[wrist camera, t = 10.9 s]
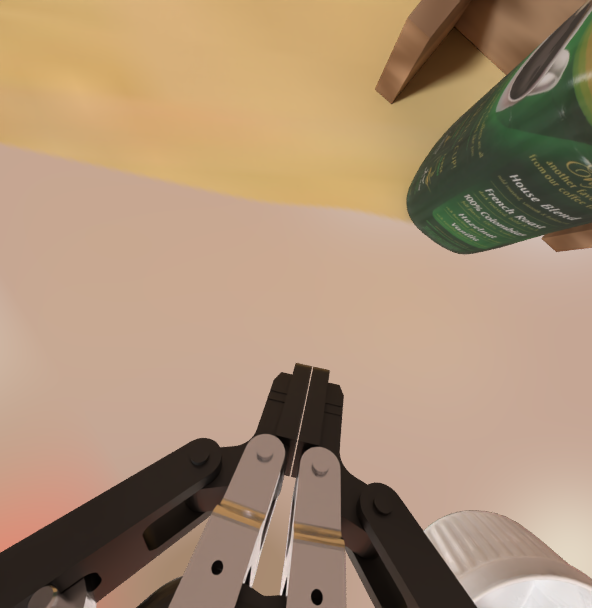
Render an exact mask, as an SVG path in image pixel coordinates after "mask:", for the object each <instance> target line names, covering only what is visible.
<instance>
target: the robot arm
mask: <svg viewBox="0 0 592 608" xmlns="http://www.w3.org/2000/svg"><path fill="white" fill-rule="evenodd" d="M311 369H312V366H308V365H303V364H299V363H296V364H295V368H294V371H293V375H292V374H287V373H283V372H281V373H280V374H279V375H278V376H277V377H276V378H275V379H274V381H273V384H272V387H271V390H270V393H269V396H268V399H267V402H266V405H265V408H264V411H263V413H262V416H261V419H260V422H259V425H258V428H257V430H256V433H255V434H254V436H253V437H252V438H251V439H250V440H249V441H247V442H246V443H244V444H242V445H239V446H232V447H219V445H218V444H217V443H216V442H215V441H213V440H211V439H207V438H200V439H196V440H193V441H191V442H189V443H188V444H186V445H184V446H183V447H181V448H179V449H177V450H176V451H174V452H172V453H171V454H169V455H167V456H166V457H164V458H162V459H160V460H159V461H157V462H155V463H154V464H152V465H150V466H148V467H147V468H145V469H143V470H141V471H140V472H138V473H137V474H135V475H133V476H131V477H129V478H128V479H126V480H124V481H123V482H121V483H119V484H118V485H116V486H114V487H112V488H111V489H109V490H107V491H106V492H104V493H102V494H100V495H99V496H97V497H95V498H94V499H92V500H90V501H88V502H87V503H85V504H83V505H82V506H80V507H78V508H76V509H75V510H73V511H71V512H69V513H68V514H66V515H64V516H63V517H61V518H59V519H57V520H56V521H54V522H52V523H51V524H49V525H47V526H45V527H44V528H42V529H40V530H39V531H37V532H35V533H33V534H32V535H30V536H29V537H27V538H25V539H23V540H21V541H20V542H18V543H16V544H15V545H13V546H11V547H9V548H8V549H6V550H4V551H3V552H1V553H0V608H96V603H97V602H98V601H99V600H101V599H102V598H103V597H104V596H106V595H107V594H108V593H110V592H111V591H112V590H114V589H115V588H116V587H118V586H119V585H120V584H122V583H123V582H124V581H126V580H127V579H128V578H129V577H131V576H132V575H133V574H135V573H136V572H137V571H139V570H140V569H141V568H142V567H144V566H145V565H146V564H148V563H149V562H150V561H152V560H153V559H154V558H156V557H157V556H158V555H160V554H161V553H162V552H163V551H165V550H166V549H167V548H169V547H170V546H171V545H172V544H174V543H175V542H177V541H178V540H179V539H180V538H182V537H183V536H184V535H186V534H187V533H188V532H190V531H191V530H192V529H193V528H195V527H196V526H197V525H199V524H200V523H201V522H203V521H204V520H205V519H207V518H208V517H209V516H210V518H209V520H208V522H207V525H206V527H205V529H204V531H203V533H202V535H201V538H200V540H199V542H198V544H197V546H196V549H195V551H194V553H193V555H192V557H191V560H190V562H189V564H188V566H187V568H186V570H185V573H184V575H183V576H182V577H179V578H176V579H174V580H172V581H170V582H168V583H166V584H165V585H163V586H162V587H160V588H159V589H158V590H157V591H155V592H154V593H153V594H152V595H150V596H149V597H148V598H147V599H146V600H144V601H143V602H142V603H141V604H140V605H139V606H138V607H136V608H346V559H345V550H346V552H347V554H348V556H349V558H350V559H351V561H352V563H353V565H354V567H355V569H356V571H357V573H358V575H359V577H360V579H361V581H362V583H363V585H364V587H365V589H366V591H367V593H368V595H369V597H370V599H371V601H372V602H373V604H374V606H375V608H477V606H476V605H475V603H474V602H473V601H472V599H471V598H470V596H469V595H468V593H467V592H466V591H465V589H464V588H463V586H462V585H461V584H460V582H459V581H458V579H457V578H456V576H455V575H454V574H453V572H452V571H451V569H450V568H449V567H448V565H447V564H446V562H445V561H444V559H443V558H442V557H441V555H440V554H439V552H438V551H437V550H436V548H435V547H434V545H433V544H432V543H431V541H430V540H429V538H428V537H427V535H426V534H425V533H424V531H423V530H422V528H421V527H420V526H419V524H418V523H417V521H416V520H415V519H414V517H413V516H412V514H411V513H410V512H409V510H408V509H407V507H406V506H405V504H404V503H403V501H402V500H401V499H400V497H399V496H398V495H397V493H396V492H395V491H394V490H393V489H391V488H390V487H389V486H387V485H384V484H382V483H371V484H368V485H367V484H365V483H364V482H362V481H361V480H359V479H357V478H356V477H354V476H353V475H351V474H350V473H349V472H348V471H347V470H346V468H345V467H344V465H343V464H342V461H341V458H340V453H339V451H340V436H341V423H342V410H343V409H342V408H343V398H344V395H343V393H342V390H341V388H340V385H337V384H332V383H328V380H329V370H326V369H322V368H317V367H313V372H312V377H311V381H310V386H309V391H308V396H307V401H306V406H305V411H304V415H303V420H302V425H301V431H300V435H299V440H298V445H297V450H296V455H295V460H294V465H293V470H292V475H291V477H295V478H296V482H295V488H294V493H293V497H292V503H291V512H290V520H289V528H288V537H287V545H286V554H285V562H284V569H283V575H282V581H281V589H280V595H278V596H263V595H261V594H260V593H258V592H257V591H255V590H254V589H253V588H252V584H253V581H254V578H255V574H256V571H257V567H258V563H259V558H260V555H261V551H262V548H263V544H264V541H265V538H266V535H267V531H268V528H269V525H270V521H271V518H272V515H273V512H274V508H275V505H276V502H277V498H278V496H279V494H280V491H281V487H282V482H283V478H284V475H286V476H289V475H290V471H291V466H292V461H293V456H294V452H295V447H296V442H297V438H298V433H299V427H300V423H301V418H302V414H303V409H304V404H305V399H306V394H307V389H308V384H309V379H310V374H311Z"/></svg>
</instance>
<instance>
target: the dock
mask: <svg viewBox="0 0 592 608" xmlns="http://www.w3.org/2000/svg"><path fill="white" fill-rule="evenodd" d="M586 1H588V0H422V1H421V2H420V3H419V4H418V5H417V7H416V8H415V9H414V10H413V12H412V13H411V14H410V15H409V17H408V18H407V20H406V22H405V25H404V27H403V29H402V31H401V33H400V36H399V38H398V40H397V42H396V44H395V46H394V49H393V51H392V53H391V55H390V57H389V60H388V62H387V64H386V66H385V68H384V70H383V73H382V75H381V77H380V79H379V81H378V84H377V86H376V88H375V90H376V91H377V92H378V93H380V94H381V95H382V96H383V97H384V98H385V99H386V100H387V101H389V102H390V103H391V104H392V102H393V101H394V100H395V99H396V98H397V96H398V95H399V94H400V93H401V91H402V90H403V89H404V88H405V86H406V85H407V84H408V83H409V82H410V80H411V79H412V78H413V77H414V75H415V74H416V73H417V72H418V70H419V69H420V68H421V67H422V66H423V64H424V63H425V62H426V61H427V59H428V58H429V57H430V56H431V54H432V53H433V52H434V51H435V50H436V48H437V47H438V46H439V45H440V43H441V42H442V41H443V40H444V38H445V37H446V36H447V35H448V34H449V32H450V31H451V30H452V29H453V27H454V26H455V27H456V28H457V29H458V30H459V31H460V32H461V33H462V34H463V35H464V36H465V37H466V38H467V39H468V40H470V41H471V42H472V43H473V44H474V45H475V46H476V47H477V48H478V49H479V50H480V51H481V52H482V53H483V54H484V55H486V56H487V57H488V58H489V59H490V60H491V61H492V62H493V63H494V64H495V65H496V66H497V67H498V68H499V69H500V70H502V71H503V72H504V73H505V74H506V75H508V74H509V73H510V72H511V71H512V70H513V69H514V68H515V67H516V66H517V65H518V64H519V63H520V62H521V61H523V60H524V59H525V58H526V57H527V56H528V55H529V54H530V53H531V52H532V51H533V50H535V49H536V48H537V47H538V46H539V45H540V44H541V43H542V42H543V41H544V40H545V39H547V38H548V37H549V36H550V35H551V34H552V33H553V32H554V31H555V30H556V29H557V28H558V27H560V26H561V25H562V24H563V23H564V22H565V21H566V20H567V19H568V18H569V17H570V16H572V15H573V14H574V13H575V12H576V11H577V10H578V9H579V8H580V7H581V6H582V5H583V4H584V3H585V2H586ZM542 240H544V241H545V242H546V243H547V244H548V245H549V246H550V247H551V248H552V249H554V250H555V251H556V252H560V251H568V250H576V249H584V248H592V223H589V224H585V225H581V226H577V227H573V228H569V229H565V230H561V231H557V232H553V233H549V234H545V235H544V236H543V237H542Z"/></svg>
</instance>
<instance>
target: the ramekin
mask: <svg viewBox="0 0 592 608" xmlns="http://www.w3.org/2000/svg"><path fill="white" fill-rule="evenodd" d="M424 533H425V534H426V535H427V537H428V538H429V540H430V541H431V543H432V544H433V545H434V547H435V548H436V550H437V551H438V552H439V554H440V555H441V557H442V558H443V559H444V561H445V562H446V564H447V565H448V567H449V568H450V569H451V571H452V572H453V574H454V575H455V576H456V578H457V579H458V581H459V582H460V584H461V585H462V586H463V588H464V589H465V591H466V592H467V593H468V595H469V596H470V598H471V599H472V601H473V602H474V603H475V605H476V606H477V608H592V579H591V578H590V577H588V576H587V575H586V574H584V573H582V572H581V571H580V570H578V569H576V568H575V567H573V566H571V565H569V564H568V563H567V562H566V561H564V560H563V559H562V558H561V557H560V556H558V555H557V554H556V553H555V552H554V551H553V550H552V549H551V548H549V547H548V546H547V545H546V544H545V543H543V542H542V541H541V540H540V539H539V538H537V537H536V536H535V535H534V534H532V533H531V532H530V531H528V530H527V529H525V528H524V527H523V526H522V525H520V524H519V523H517V522H515V521H513V520H511V519H509V518H508V517H506V516H502V515H498V514H496V513H492V512H487V511H474V510H469V511H460V512H456V513H453V514H449V515H447V516H444V517H442V518H440V519H438V520H437V521H435V522H433V523H432V524H431V525H430V526H428V527H427V528H426V529H425V530H424Z"/></svg>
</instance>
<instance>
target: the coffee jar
mask: <svg viewBox="0 0 592 608" xmlns="http://www.w3.org/2000/svg"><path fill="white" fill-rule="evenodd" d="M407 210H408V213H409V216H410V218H411V220H412V221H413V223H414V224H415V225H416V227H417V228H418V229H419V230H421V231H422V232H423V233H424V234H425V235H427V236H428V237H429V238H430V239H431V240H433V241H434V242H436V243H437V244H439V245H440V246H442V247H444V248H446V249H447V250H450V251H452V252H455V253H458V254H473V253H478V252H483V251H487V250H491V249H496V248H500V247H503V246H507V245H511V244H514V243H517V242H520V241H524V240H527V239H531V238H534V237H538V236H541V235H545V234H549V233H553V232H557V231H561V230H565V229H569V228H573V227H577V226H581V225H585V224H589V223H592V0H588V1H586V2H585V3H584V4H583V5H582V6H581V7H580V8H579V9H578V10H577V11H576V12H575V13H574V14H573V15H572V16H570V17H569V18H568V19H567V20H566V21H565V22H564V23H563V24H562V25H561V26H560V27H558V28H557V29H556V30H555V31H554V32H553V33H552V34H551V35H550V36H549V37H548V38H547V39H545V40H544V41H543V42H542V43H541V44H540V45H539V46H538V47H537V48H536V49H535V50H533V51H532V52H531V53H530V54H529V55H528V56H527V57H526V58H525V59H524V60H523V61H521V62H520V63H519V64H518V65H517V66H516V67H515V68H514V69H513V70H512V71H511V72H510V73H509V74H508V75H506V76H505V77H504V78H503V79H502V80H501V81H500V82H499V83H498V84H497V85H495V86H494V87H493V88H492V89H491V90H490V91H489V92H488V93H487V94H485V95H484V96H483V97H482V98H481V99H480V100H479V101H478V102H477V103H476V104H474V105H473V106H472V107H471V108H470V109H469V110H468V111H467V112H466V113H465V114H463V115H462V116H461V117H460V118H459V119H458V120H457V121H456V122H455V123H454V124H453V125H452V126H451V127H450V128H449V129H448V130H447V131H446V132H445V133H444V134H443V136H442V137H441V138H440V139H439V141H438V142H437V143H436V144H435V146H434V147H433V148H432V150H431V151H430V153H429V154H428V156H427V157H426V158H425V160H424V161H423V163H422V165H421V166H420V168H419V170H418V171H417V173H416V175H415V177H414V179H413V181H412V183H411V185H410V187H409V190H408V194H407Z"/></svg>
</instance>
